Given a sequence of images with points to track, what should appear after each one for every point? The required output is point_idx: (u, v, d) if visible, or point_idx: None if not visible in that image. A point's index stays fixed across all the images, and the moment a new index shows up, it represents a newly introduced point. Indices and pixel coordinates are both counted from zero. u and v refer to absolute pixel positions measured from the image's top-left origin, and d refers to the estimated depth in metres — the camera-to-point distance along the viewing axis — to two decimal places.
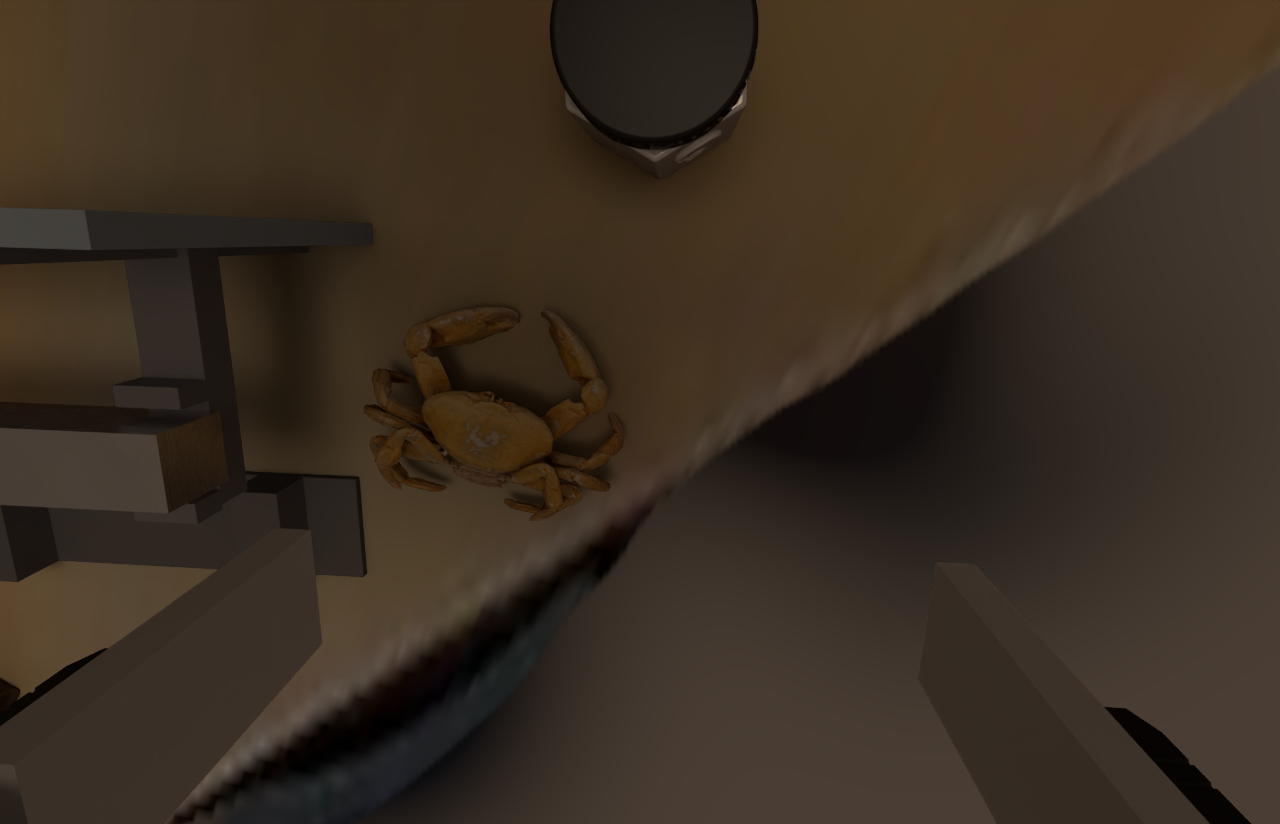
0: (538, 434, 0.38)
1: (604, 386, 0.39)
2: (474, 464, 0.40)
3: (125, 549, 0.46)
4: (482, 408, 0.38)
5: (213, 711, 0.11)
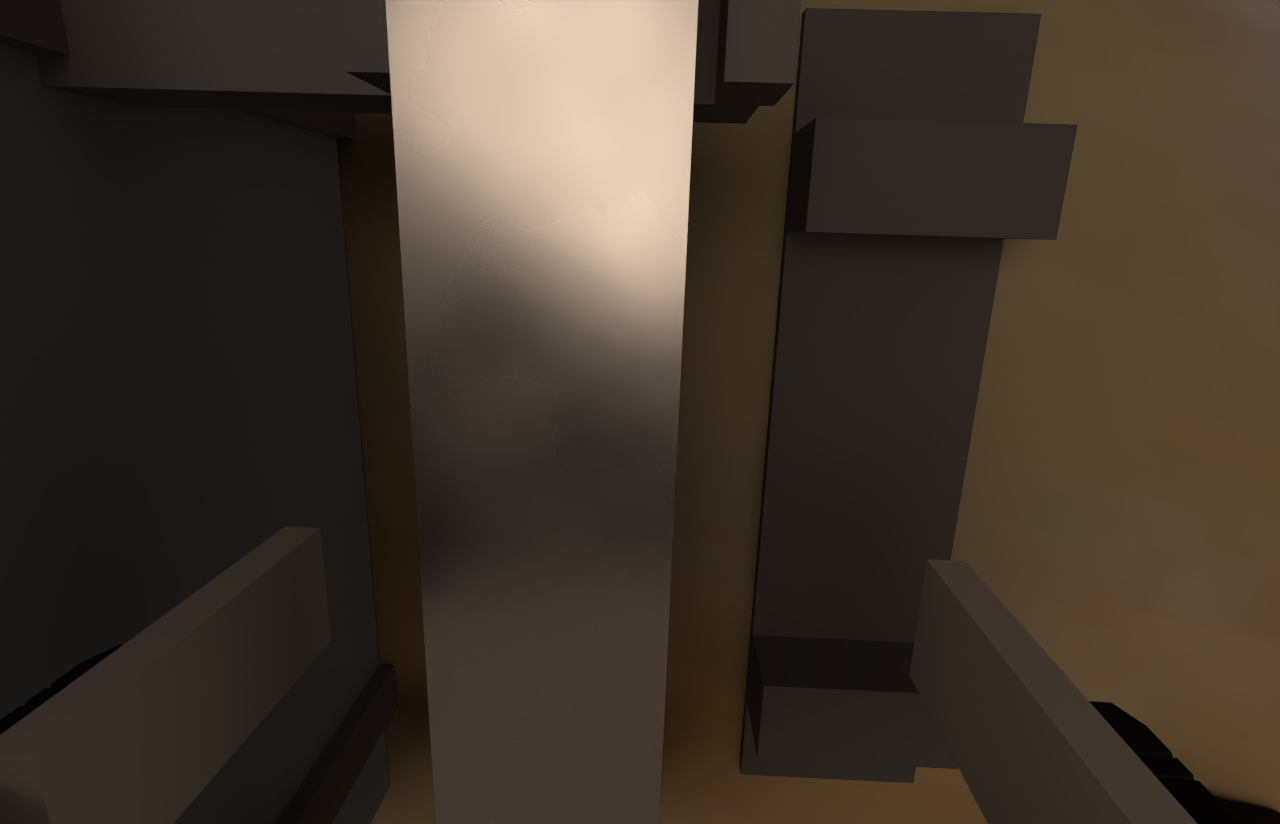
0: None
1: None
2: None
3: (925, 522, 0.24)
4: None
5: (225, 707, 0.11)
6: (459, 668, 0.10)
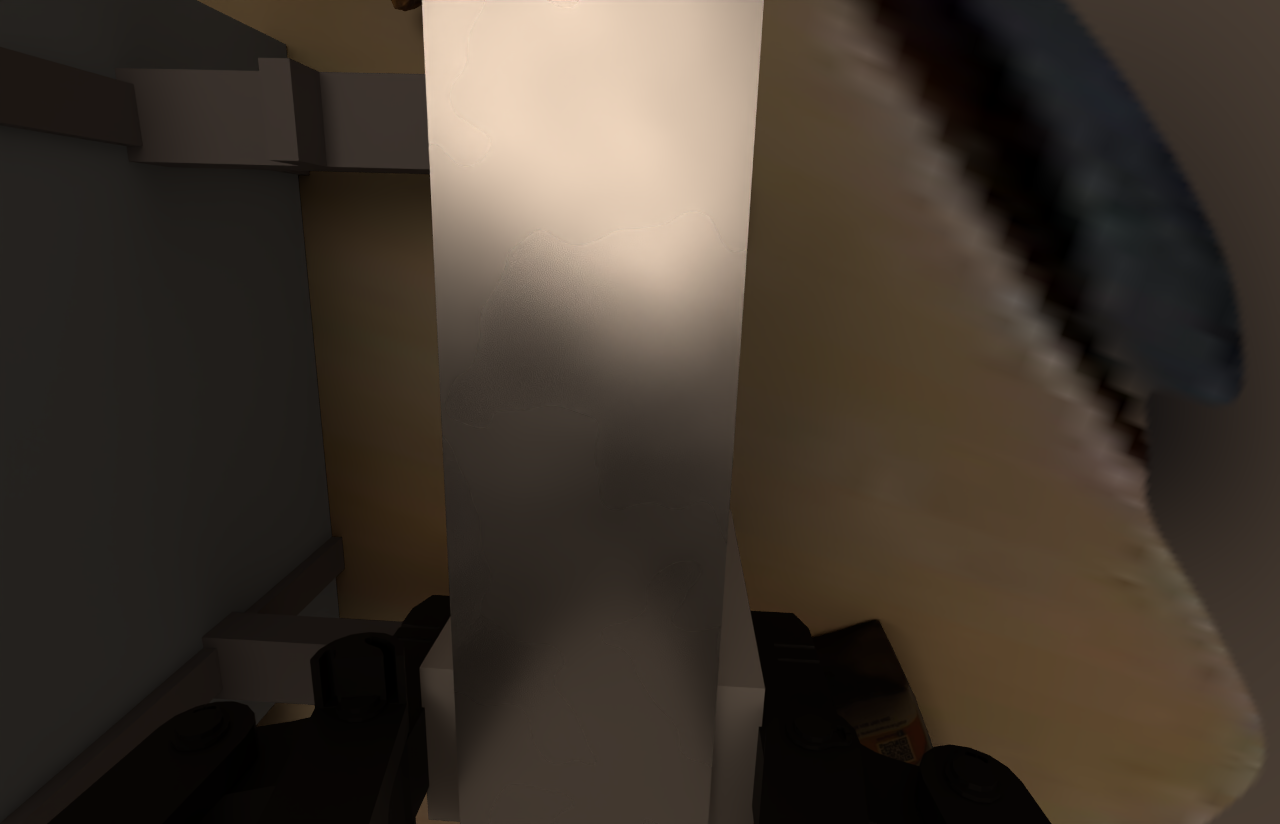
0: None
1: None
2: None
3: None
4: None
5: None
6: (491, 716, 0.09)
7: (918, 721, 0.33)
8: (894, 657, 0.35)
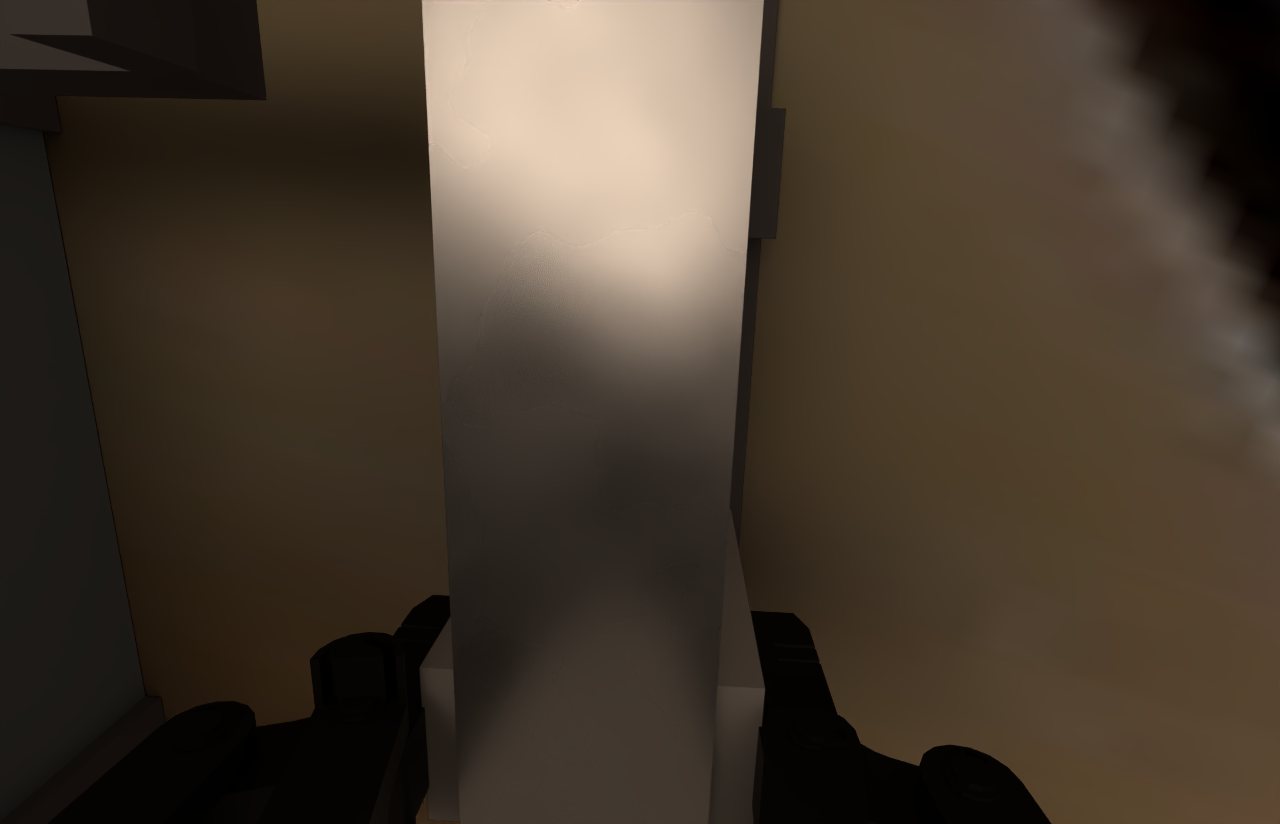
0: None
1: None
2: None
3: None
4: None
5: None
6: (491, 717, 0.09)
7: None
8: None
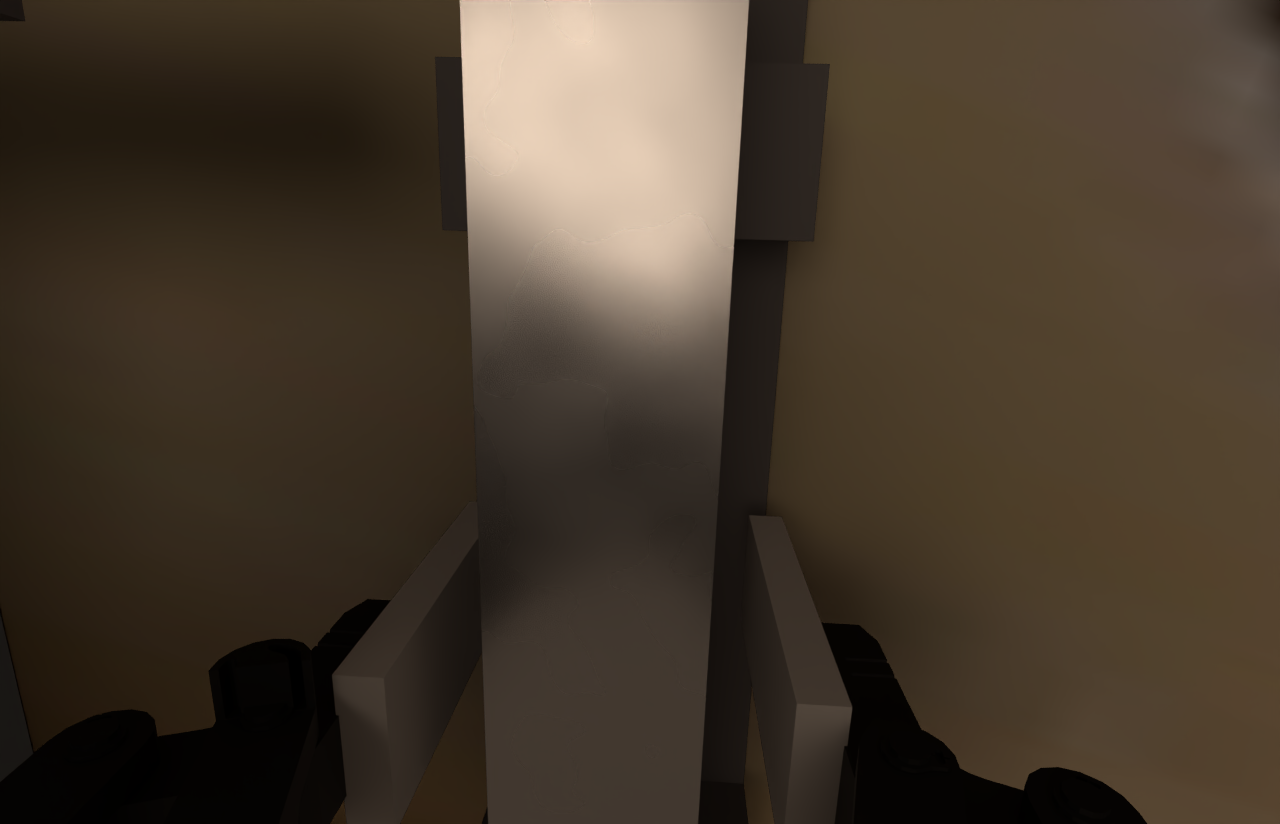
0: None
1: None
2: None
3: (714, 626, 0.18)
4: None
5: (458, 655, 0.13)
6: (513, 653, 0.10)
7: None
8: None
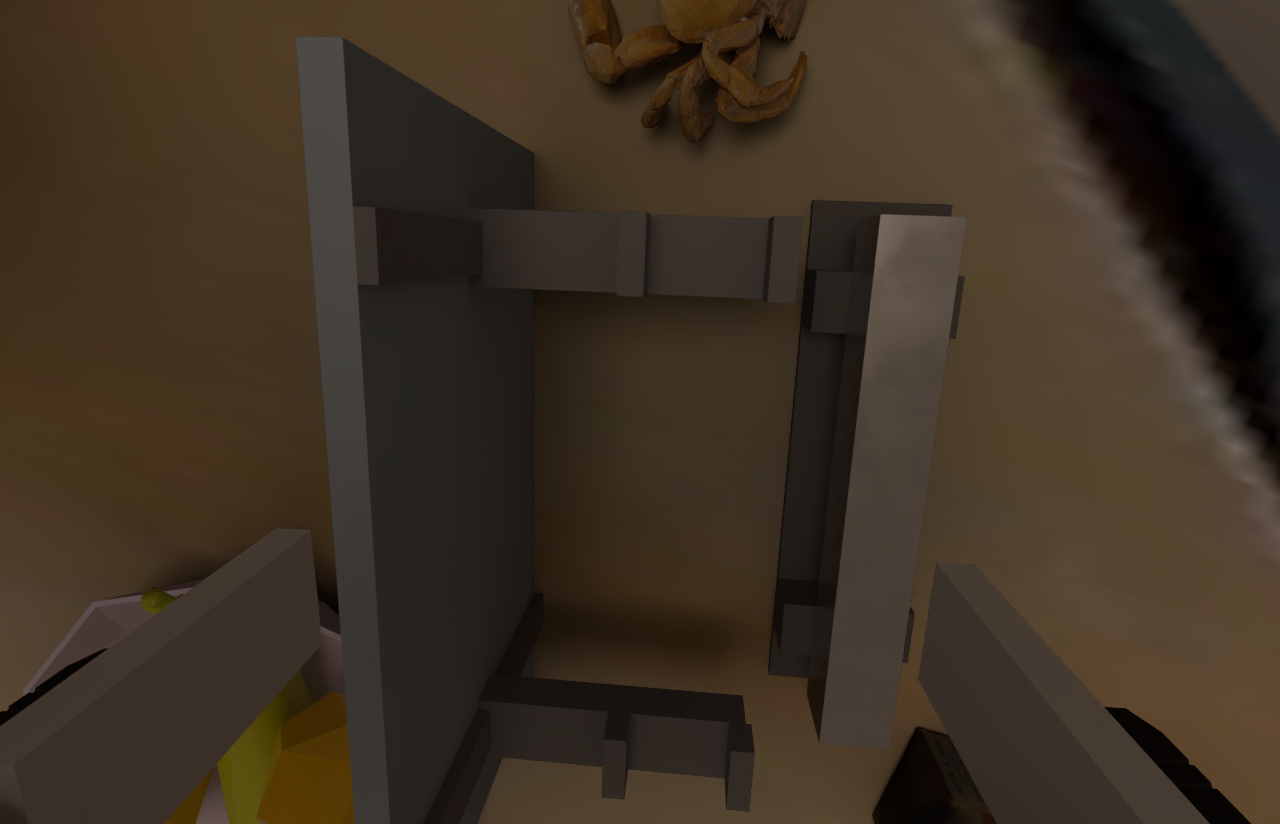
0: None
1: None
2: None
3: None
4: None
5: (213, 712, 0.11)
6: (860, 481, 0.31)
7: (988, 817, 0.36)
8: (936, 771, 0.39)
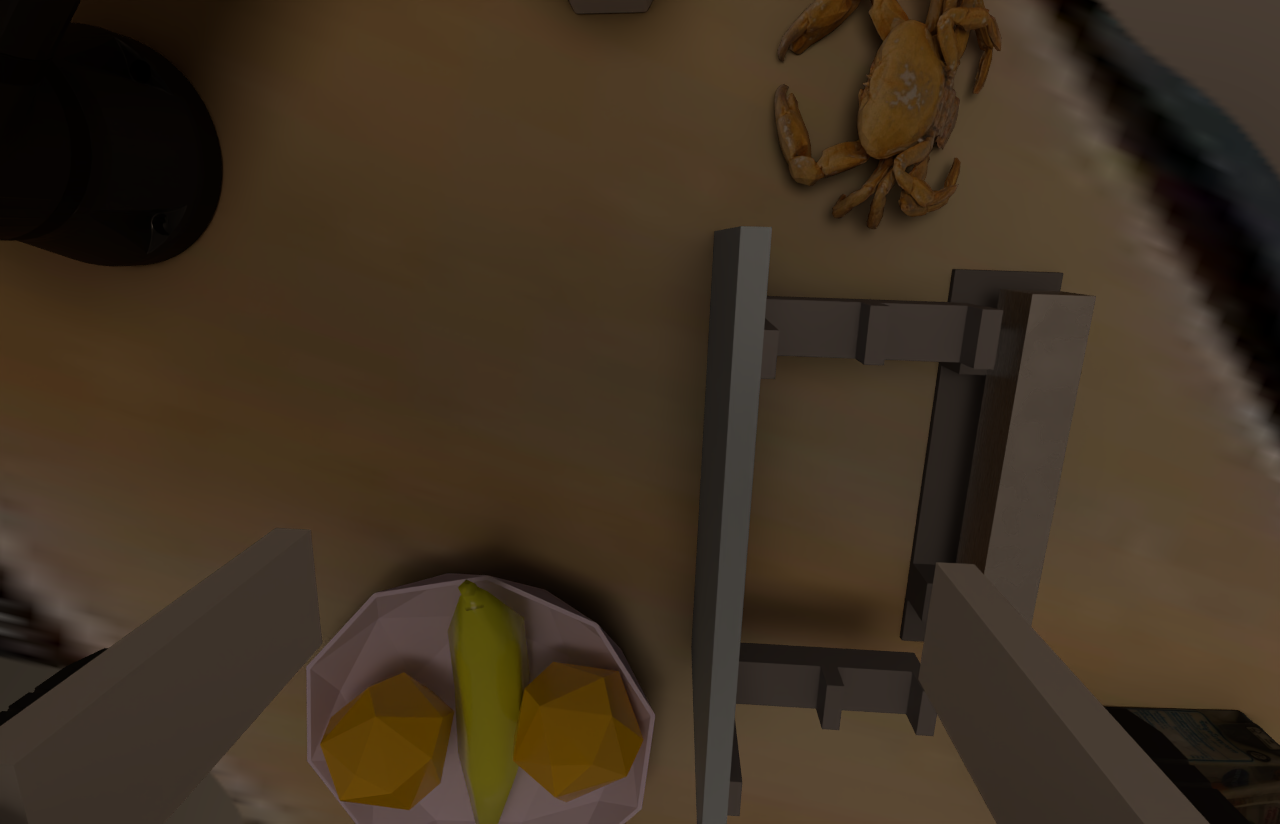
0: (906, 30, 0.38)
1: None
2: (934, 108, 0.40)
3: None
4: (876, 88, 0.39)
5: (213, 711, 0.11)
6: (1007, 489, 0.41)
7: None
8: None
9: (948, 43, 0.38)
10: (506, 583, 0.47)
